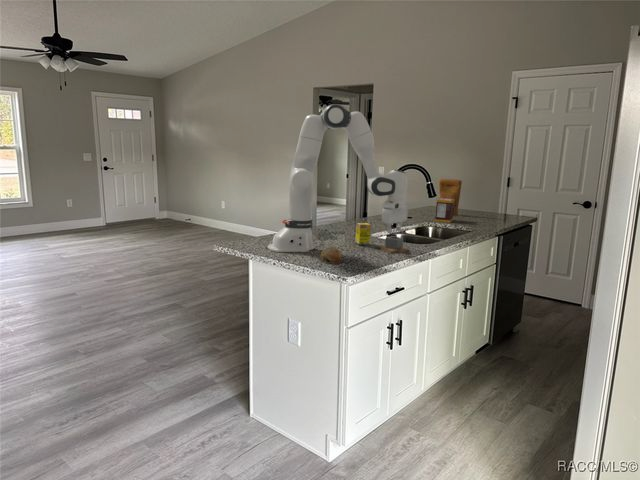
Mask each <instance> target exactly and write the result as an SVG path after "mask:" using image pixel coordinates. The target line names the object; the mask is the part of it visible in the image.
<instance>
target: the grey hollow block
mask: <svg viewBox="0 0 640 480" xmlns="http://www.w3.org/2000/svg"><path fill="white" fill-rule="evenodd" d="M384 240H385V241H384V246H385V248H389V249H395V250H397V249H400V248H403V247H404V237H400V236H393V235H391V236H388V237H387V236H386V237H385V239H384Z"/></svg>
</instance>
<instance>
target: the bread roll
mask: <svg viewBox="0 0 640 480" xmlns="http://www.w3.org/2000/svg"><path fill="white" fill-rule="evenodd" d="M319 257H320V261H321V263H323V264H332V265H334V264H335V265H336V264H337V265H338V264H341V263H342V262H343V257H344V255H343V253H342V252H341V251H340V250H339V249H338V248H337V247H328V248H327V247H326V248H325V249H322V251H321V253H320V255H319Z"/></svg>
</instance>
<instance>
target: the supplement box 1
mask: <svg viewBox="0 0 640 480" xmlns="http://www.w3.org/2000/svg"><path fill="white" fill-rule="evenodd" d="M371 226H372V224H370V223H368V222H356V226H355V228H356V229H355V244H356V245H358V246H370V243H371V241H370V239H371V230H372V229H371Z"/></svg>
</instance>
